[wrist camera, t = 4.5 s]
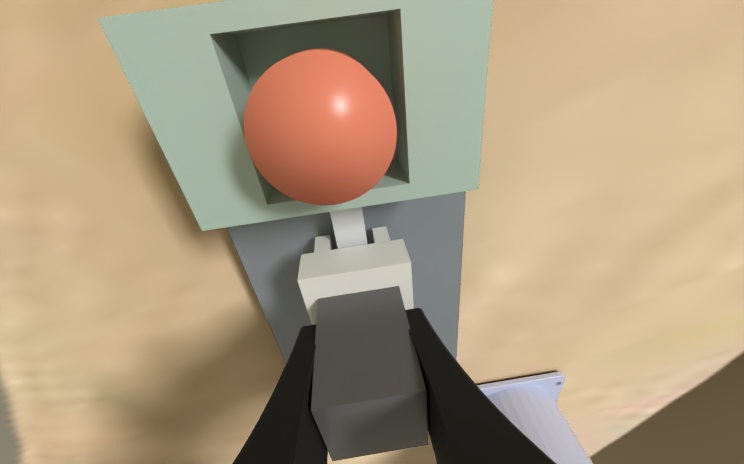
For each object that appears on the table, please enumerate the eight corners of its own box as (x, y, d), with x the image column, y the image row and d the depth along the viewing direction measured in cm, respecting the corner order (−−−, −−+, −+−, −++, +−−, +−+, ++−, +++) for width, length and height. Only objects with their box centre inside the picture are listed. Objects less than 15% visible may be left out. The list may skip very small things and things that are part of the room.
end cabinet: (432, 140, 13) (478, 189, 9) (232, 169, 13) (183, 233, 9) (430, -6, 10) (496, -35, 6) (178, 27, 10) (69, 21, 6)
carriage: (404, 307, 16) (443, 456, 10) (326, 320, 16) (322, 477, 10) (397, 224, 13) (445, 364, 7) (303, 238, 13) (281, 392, 7)
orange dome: (386, 160, 9) (401, 194, 7) (283, 175, 9) (269, 214, 7) (375, 39, 7) (390, 40, 5) (249, 56, 7) (219, 64, 5)
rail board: (447, 387, 23) (459, 424, 21) (316, 409, 23) (314, 449, 21) (455, 148, 13) (479, 171, 11) (225, 182, 13) (202, 212, 11)
